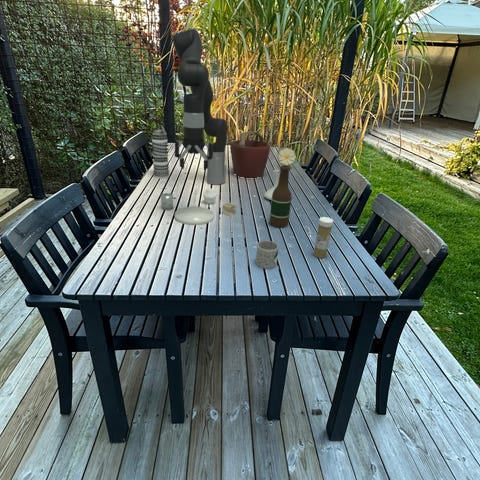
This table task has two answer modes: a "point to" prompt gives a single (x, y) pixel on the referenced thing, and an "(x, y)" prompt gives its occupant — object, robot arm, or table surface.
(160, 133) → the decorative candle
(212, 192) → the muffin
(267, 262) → the mug
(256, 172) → the brown flower pot
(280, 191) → the beer bottle
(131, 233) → the table surface
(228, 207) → the brass block
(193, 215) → the white bowl
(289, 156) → the flower in vase
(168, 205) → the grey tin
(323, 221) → the sprinkles bottle
